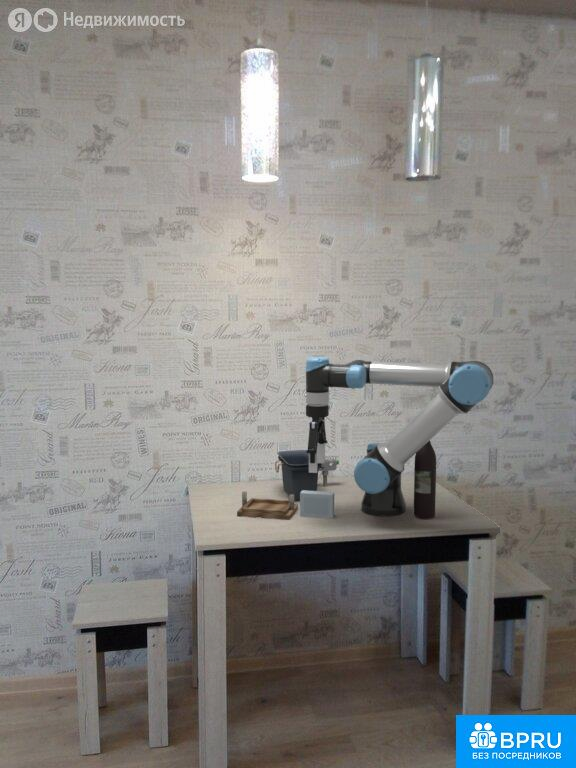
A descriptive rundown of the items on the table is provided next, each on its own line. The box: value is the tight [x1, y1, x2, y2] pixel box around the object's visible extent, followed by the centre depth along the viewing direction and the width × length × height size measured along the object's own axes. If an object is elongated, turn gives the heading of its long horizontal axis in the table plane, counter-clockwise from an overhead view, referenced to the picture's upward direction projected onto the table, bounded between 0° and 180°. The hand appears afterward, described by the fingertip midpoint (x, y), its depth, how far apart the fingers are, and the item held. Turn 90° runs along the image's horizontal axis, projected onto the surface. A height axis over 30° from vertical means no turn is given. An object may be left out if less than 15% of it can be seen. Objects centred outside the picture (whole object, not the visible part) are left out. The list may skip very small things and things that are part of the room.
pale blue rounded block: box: [299, 490, 335, 519], centre depth 251 cm, size 11×4×8 cm, turn 77°
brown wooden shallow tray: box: [236, 491, 299, 521], centre depth 255 cm, size 18×13×6 cm
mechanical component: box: [318, 458, 340, 487], centre depth 287 cm, size 3×10×10 cm, turn 100°
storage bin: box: [274, 449, 322, 502], centre depth 275 cm, size 21×16×14 cm
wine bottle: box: [413, 440, 437, 520], centre depth 248 cm, size 7×7×30 cm
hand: (317, 467), depth 249 cm, fingers open, 13 cm apart
